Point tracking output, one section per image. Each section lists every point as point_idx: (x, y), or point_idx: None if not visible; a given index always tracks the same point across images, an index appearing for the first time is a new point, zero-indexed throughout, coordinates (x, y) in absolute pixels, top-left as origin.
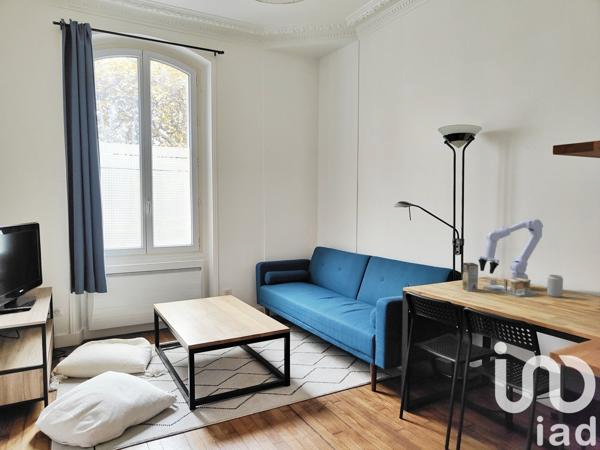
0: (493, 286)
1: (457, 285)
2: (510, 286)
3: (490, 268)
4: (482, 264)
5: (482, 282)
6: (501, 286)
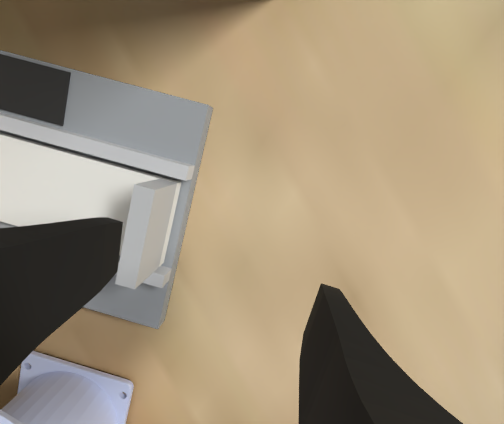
0: (105, 142)
1: (489, 17)
2: (100, 374)
3: (37, 233)
4: (326, 398)
5: None
6: (44, 187)
